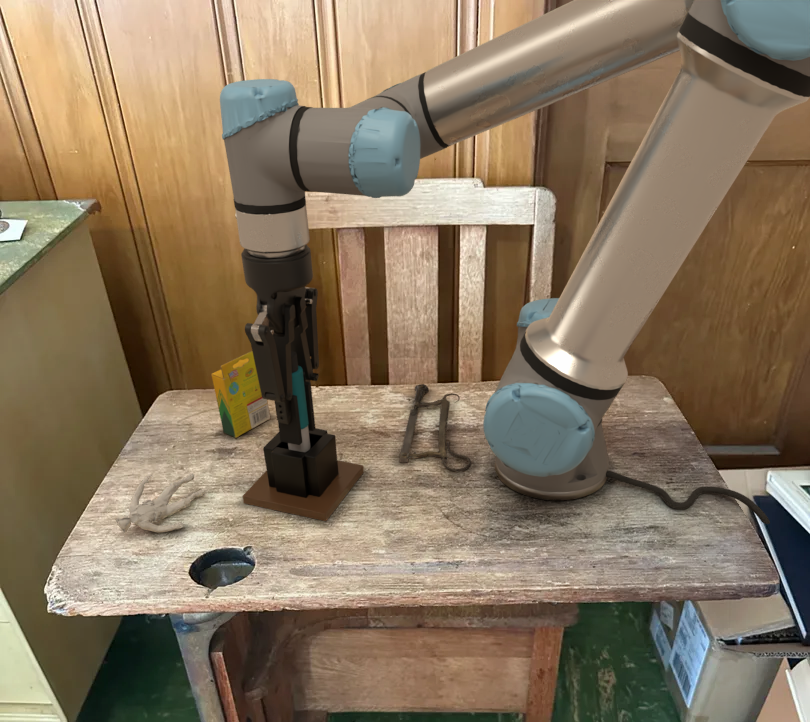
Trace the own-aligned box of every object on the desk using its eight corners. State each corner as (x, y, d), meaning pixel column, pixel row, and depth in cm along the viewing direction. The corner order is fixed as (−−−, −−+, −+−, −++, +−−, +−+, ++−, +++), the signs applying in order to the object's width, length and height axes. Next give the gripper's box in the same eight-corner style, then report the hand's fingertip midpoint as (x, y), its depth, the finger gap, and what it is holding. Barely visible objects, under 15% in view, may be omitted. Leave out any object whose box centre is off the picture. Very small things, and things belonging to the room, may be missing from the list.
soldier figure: (219, 510, 100) (156, 536, 89) (197, 527, 102) (133, 555, 92) (186, 460, 100) (119, 481, 89) (165, 479, 102) (97, 501, 92)
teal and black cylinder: (315, 444, 99) (305, 350, 91) (304, 456, 97) (293, 361, 88) (294, 440, 100) (282, 347, 92) (283, 452, 97) (270, 357, 89)
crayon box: (258, 413, 118) (247, 343, 111) (271, 419, 117) (261, 347, 110) (221, 432, 114) (207, 360, 107) (235, 439, 112) (221, 366, 105)
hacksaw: (415, 389, 124) (415, 381, 123) (478, 391, 122) (479, 383, 121) (395, 469, 105) (395, 460, 104) (470, 473, 104) (470, 464, 103)
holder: (364, 472, 104) (360, 426, 100) (326, 521, 96) (321, 473, 91) (286, 457, 108) (280, 412, 104) (243, 503, 99) (234, 456, 95)
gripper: (280, 223, 89) (300, 402, 104) (205, 266, 78) (240, 461, 92) (338, 228, 87) (350, 410, 102) (269, 274, 75) (295, 472, 90)
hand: (298, 434), depth 97 cm, fingers closed on teal and black cylinder, 3 cm apart
